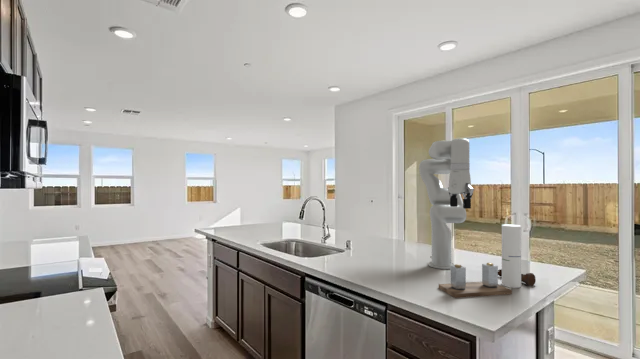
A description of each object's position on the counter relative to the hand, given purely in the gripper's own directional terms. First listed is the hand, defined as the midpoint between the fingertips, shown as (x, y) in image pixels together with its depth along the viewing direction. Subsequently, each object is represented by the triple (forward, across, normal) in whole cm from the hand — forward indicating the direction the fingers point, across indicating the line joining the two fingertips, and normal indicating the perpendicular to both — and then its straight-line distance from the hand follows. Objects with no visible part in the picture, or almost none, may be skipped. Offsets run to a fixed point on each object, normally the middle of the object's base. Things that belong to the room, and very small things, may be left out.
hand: (460, 207), depth 145 cm
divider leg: (+30, +11, +6) cm, 33 cm away
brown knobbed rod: (+33, +2, +25) cm, 41 cm away
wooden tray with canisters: (+32, +11, -1) cm, 34 cm away
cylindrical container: (+32, +7, +19) cm, 38 cm away
